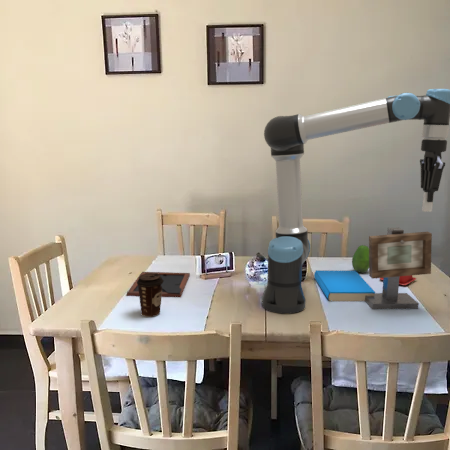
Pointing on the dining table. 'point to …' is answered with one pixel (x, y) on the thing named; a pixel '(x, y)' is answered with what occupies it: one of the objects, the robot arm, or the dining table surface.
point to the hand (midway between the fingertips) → (426, 211)
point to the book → (343, 285)
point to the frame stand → (391, 291)
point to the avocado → (361, 259)
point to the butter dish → (404, 279)
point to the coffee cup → (150, 294)
